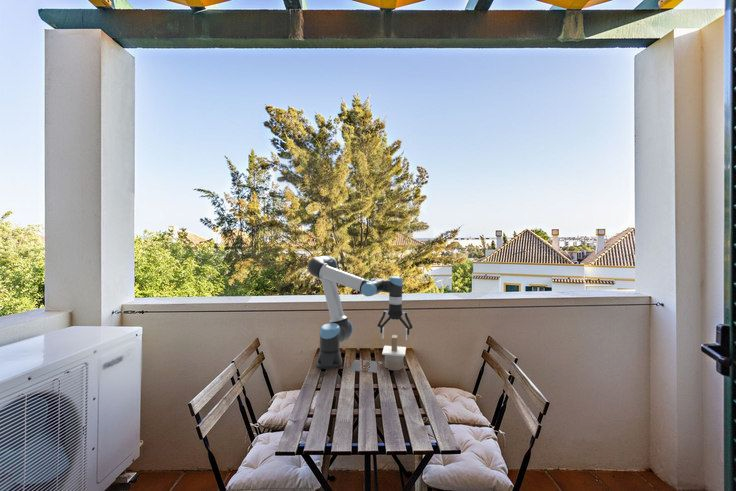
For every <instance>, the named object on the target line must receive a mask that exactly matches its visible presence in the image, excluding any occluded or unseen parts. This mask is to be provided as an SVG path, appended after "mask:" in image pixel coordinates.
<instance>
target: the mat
mask: <svg viewBox="0 0 736 491" xmlns="http://www.w3.org/2000/svg"><path fill="white" fill-rule="evenodd" d="M360 360H361V359H354V361H353V363H352V364H351V365H350V366H351V367H350V368H349V371H352V372H361V370H360ZM362 360H363V359H362ZM366 361H367V362H369V361H370V362H369V363H370V365H369V366H370V368H368V367H369V366H368V367H367V368H368V369H369V370H368V372H367V373H375V374H376V373H377V363H376V360H365V359H364V360H363V366H364V365H365V363H366ZM377 361H378V360H377ZM378 363H380V364H382V365H383V361H378ZM380 364H379V365H380ZM363 368H365V367H363ZM363 370H364V369H363ZM362 372H363V371H362ZM363 373H364V372H363ZM377 374H378V373H377Z"/></svg>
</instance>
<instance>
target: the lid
mask: <svg viewBox="0 0 736 491" xmlns="http://www.w3.org/2000/svg"><path fill="white" fill-rule="evenodd" d="M398 337H399V336H398V334H392V336H391V345H383V349H382V353H381V355H382V356H385V355H393V356H403V357H406V351H407V347H406V346H399V345H398Z"/></svg>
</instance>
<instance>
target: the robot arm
mask: <svg viewBox="0 0 736 491" xmlns="http://www.w3.org/2000/svg"><path fill="white" fill-rule="evenodd" d="M307 270H308V273H309V274H310V275H311V276H313V277H316V278H318V280H320V282H321V284H322V288H323V292H324V297H325V301H326V305H327V308H328V312H329V318H330V319H329V321H328V322H329V323H324V324H323V325H322V326H321V327H320V329H319V353H318V356H317V360H316V367H317V368H319V369H322V370H333V368H334V369H337V368H336V367H338V368H340V367H342V365H343V359H342V355H341V352H340V344H341V343H342V342H344V341H348V339H349V338H350V337H351V336H352V335H353V332H354V326H353V324H352V322H351V321H350V320H349V319H348V316H346V315H345V313H344V309H343V305H342V302H341V296H340V293H339V289H338V286H337V284H339V285H341V286H344V287H347V288H349V289H352V290H355V291H358V292H360V293H361V294H363V296H365V297H372V296H375V295H376V294H380V293H381V292H382V293H388V295H389V296H388V303H389V304H388V311H386V310H383V313H382V316H381V318H380V320H379V322H378V324H377V327H378V328H380V330H379V332H380V334H382V335H381V339H382V340H384V339H385V325H387V323H389V321H390V320H396V321H397V320H399V321H400V322H401V323H402V324H403V327H405V341H408V336H409V335H410V330H411V329H413V324H412V322H411V320H410V319H409V316H408V312H407V311H403V304H402V303H403V277H401V276H397V275H396V276H394V275H393V276H390V277H389V279H385V278H378V277H377V278H370V280H368V279H366V278H362V277H359V276H358V275H355V274H352V273H349V272H346V271H343V270H341V269H338V262H337V260H336V259H335V258H334V257H333V256H331V255H322V256H314V257H312V258H311V259H310V260H309V261H308V263H307ZM387 315H388V317H387V318H386V319H385V316H387ZM402 316H404V317H405V320H404V318H403V317H402ZM384 319H385V321H384ZM383 321H384V322H383Z"/></svg>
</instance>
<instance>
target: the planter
mask: <svg viewBox="0 0 736 491" xmlns="http://www.w3.org/2000/svg"><path fill="white" fill-rule="evenodd" d="M385 367H386V368H388V369H387V370H390V371H401V370H402V368H403V369H404V356H393V355H384V368H385ZM400 369H401V370H400Z"/></svg>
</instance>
